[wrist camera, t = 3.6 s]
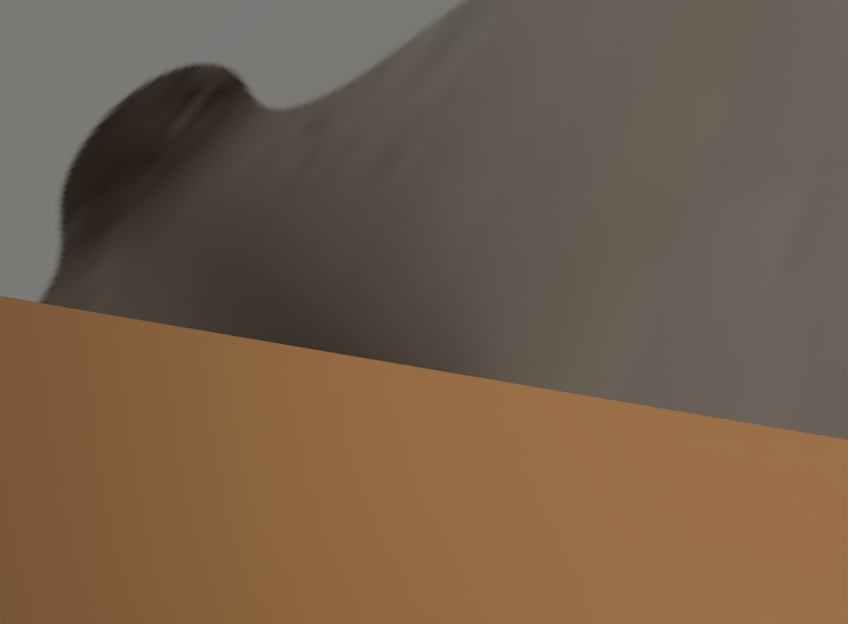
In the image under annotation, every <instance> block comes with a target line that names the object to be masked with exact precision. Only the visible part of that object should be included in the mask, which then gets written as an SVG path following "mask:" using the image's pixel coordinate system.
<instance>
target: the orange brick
mask: <svg viewBox="0 0 848 624" xmlns="http://www.w3.org/2000/svg"><path fill="white" fill-rule="evenodd" d="M0 624H848V440H844V439H838V438H832V437H826V436H821V435H815V434H809V433H803V432H797V431H791V430H785V429H779V428H773V427H768V426H762V425H756V424H750V423H744V422H738V421H732V420H726V419H720V418H715V417H709V416H703V415H697V414H691V413H685V412H679V411H673V410H667V409H661V408H656V407H650V406H644V405H638V404H632V403H626V402H620V401H614V400H608V399H603V398H597V397H591V396H585V395H579V394H573V393H567V392H561V391H555V390H550V389H544V388H538V387H532V386H526V385H520V384H514V383H508V382H502V381H497V380H491V379H485V378H479V377H473V376H467V375H461V374H455V373H449V372H443V371H438V370H432V369H426V368H420V367H414V366H408V365H402V364H396V363H390V362H385V361H379V360H373V359H367V358H361V357H355V356H349V355H343V354H337V353H332V352H326V351H320V350H314V349H308V348H302V347H296V346H290V345H284V344H279V343H273V342H267V341H261V340H255V339H249V338H243V337H237V336H231V335H225V334H220V333H214V332H208V331H202V330H196V329H190V328H184V327H178V326H172V325H167V324H161V323H155V322H149V321H143V320H137V319H131V318H125V317H119V316H114V315H108V314H102V313H96V312H90V311H84V310H78V309H72V308H66V307H61V306H55V305H49V304H43V303H37V302H31V301H25V300H19V299H13V298H7V297H2V296H0Z"/></svg>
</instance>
